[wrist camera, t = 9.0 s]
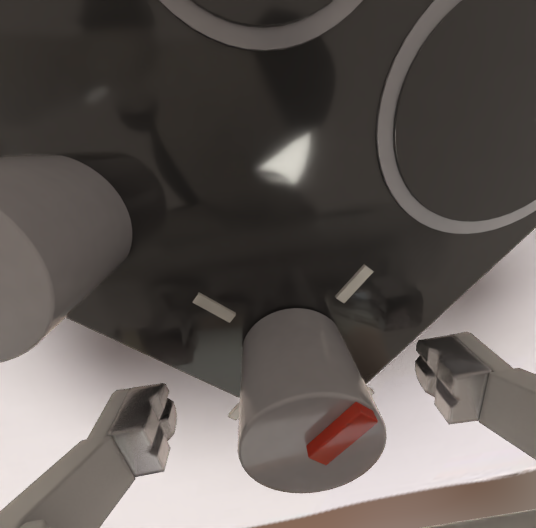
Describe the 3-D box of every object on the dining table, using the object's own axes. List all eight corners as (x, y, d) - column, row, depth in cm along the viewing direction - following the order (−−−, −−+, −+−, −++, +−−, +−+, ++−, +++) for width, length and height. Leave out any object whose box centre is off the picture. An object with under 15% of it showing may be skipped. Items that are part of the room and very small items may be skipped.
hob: (298, 399, 14) (308, 452, 12) (-30, 237, 10) (-120, 266, 8) (660, 37, 9) (816, -3, 6) (280, -642, 5) (313, -1499, 2)
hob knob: (299, 401, 11) (323, 522, 7) (221, 361, 10) (206, 480, 6) (363, 339, 10) (426, 446, 6) (283, 287, 9) (306, 381, 5)
